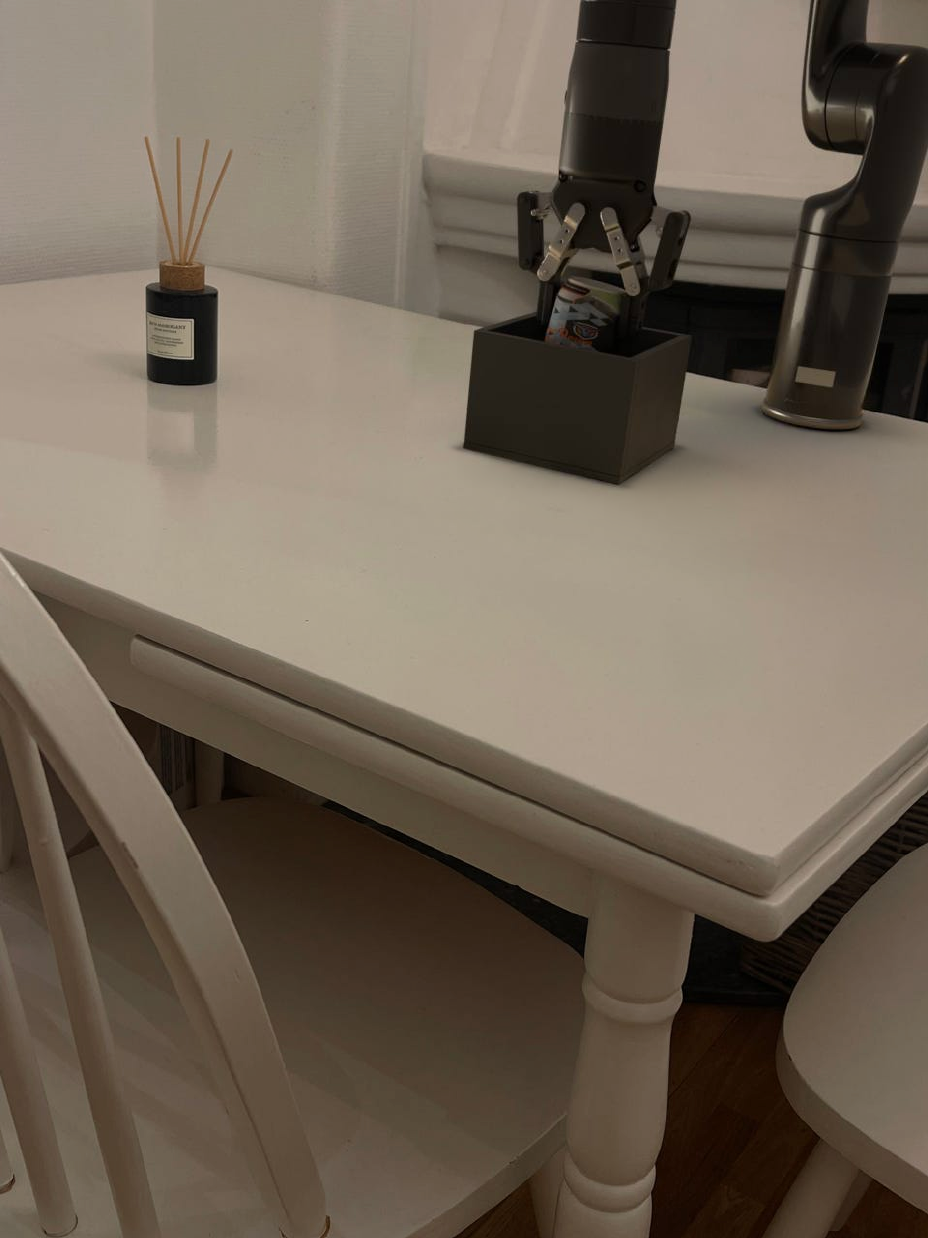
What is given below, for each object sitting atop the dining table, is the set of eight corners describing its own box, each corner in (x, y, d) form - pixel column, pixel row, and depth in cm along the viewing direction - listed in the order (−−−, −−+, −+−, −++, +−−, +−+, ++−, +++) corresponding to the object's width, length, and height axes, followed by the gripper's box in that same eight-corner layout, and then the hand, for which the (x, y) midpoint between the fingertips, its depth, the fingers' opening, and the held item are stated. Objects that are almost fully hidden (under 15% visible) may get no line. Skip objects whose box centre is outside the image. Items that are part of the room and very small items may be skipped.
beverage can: (514, 416, 106) (529, 271, 101) (590, 413, 109) (608, 272, 104) (547, 438, 101) (565, 286, 96) (626, 434, 104) (647, 286, 99)
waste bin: (531, 416, 114) (543, 308, 110) (674, 446, 108) (692, 335, 105) (462, 448, 102) (473, 329, 99) (618, 484, 97) (636, 360, 93)
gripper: (720, 121, 95) (685, 343, 102) (547, 102, 101) (525, 314, 108) (690, 121, 89) (655, 357, 96) (507, 101, 95) (486, 326, 101)
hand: (586, 333), depth 102 cm, fingers closed on beverage can, 6 cm apart
